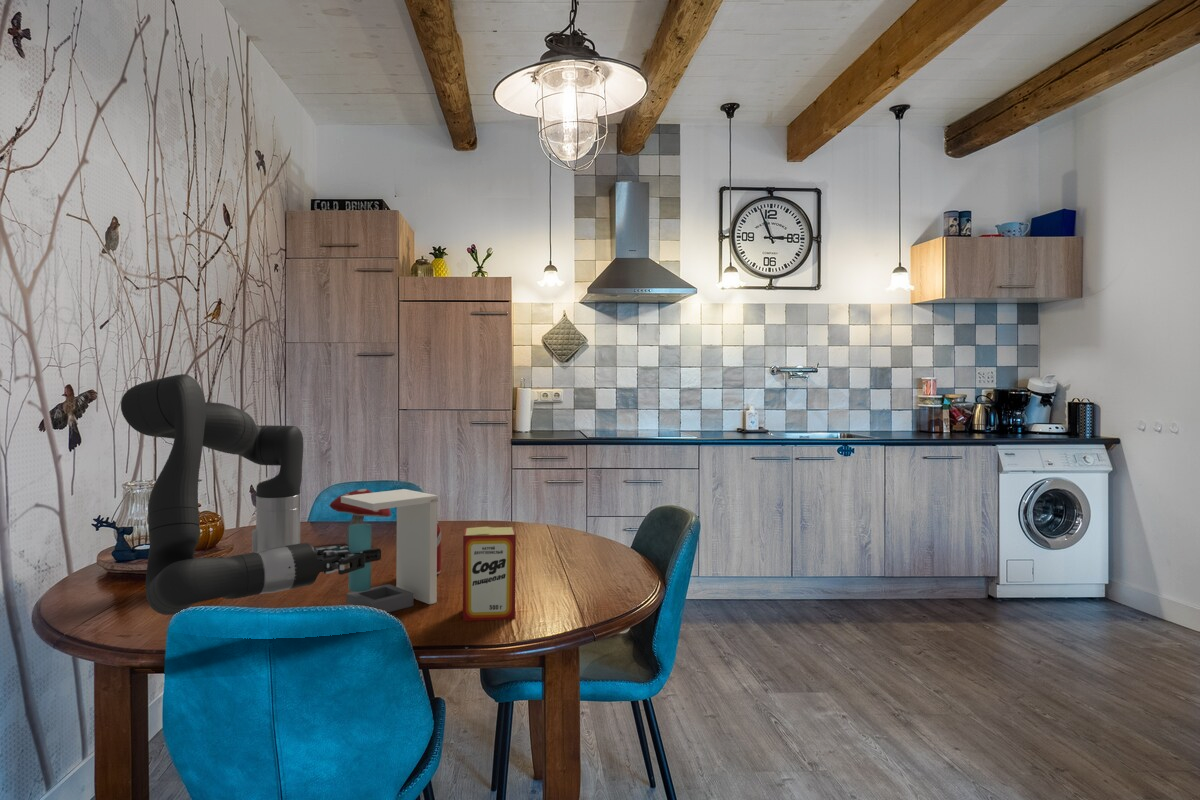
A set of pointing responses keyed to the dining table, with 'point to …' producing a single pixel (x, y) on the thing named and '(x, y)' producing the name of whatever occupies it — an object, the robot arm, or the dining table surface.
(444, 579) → the dining table surface
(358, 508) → the decorative mushroom
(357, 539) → the peg
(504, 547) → the baking soda box
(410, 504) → the awning socket
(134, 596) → the dining table surface
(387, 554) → the dining table surface
